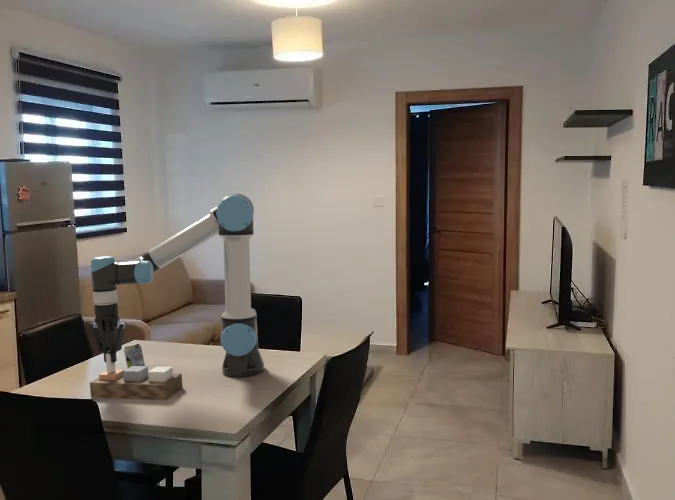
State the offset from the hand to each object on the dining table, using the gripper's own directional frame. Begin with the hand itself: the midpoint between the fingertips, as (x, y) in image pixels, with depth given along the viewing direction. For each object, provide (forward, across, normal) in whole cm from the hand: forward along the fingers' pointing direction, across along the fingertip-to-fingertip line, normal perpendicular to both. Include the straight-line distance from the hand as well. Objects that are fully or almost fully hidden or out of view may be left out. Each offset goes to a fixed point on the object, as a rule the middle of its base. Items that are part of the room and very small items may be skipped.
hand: (111, 371), depth 215 cm
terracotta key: (+4, 0, 0) cm, 4 cm away
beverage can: (+7, +1, -17) cm, 18 cm away
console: (+7, -9, 0) cm, 11 cm away
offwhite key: (+3, -18, 0) cm, 18 cm away
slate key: (+3, -9, 0) cm, 9 cm away
